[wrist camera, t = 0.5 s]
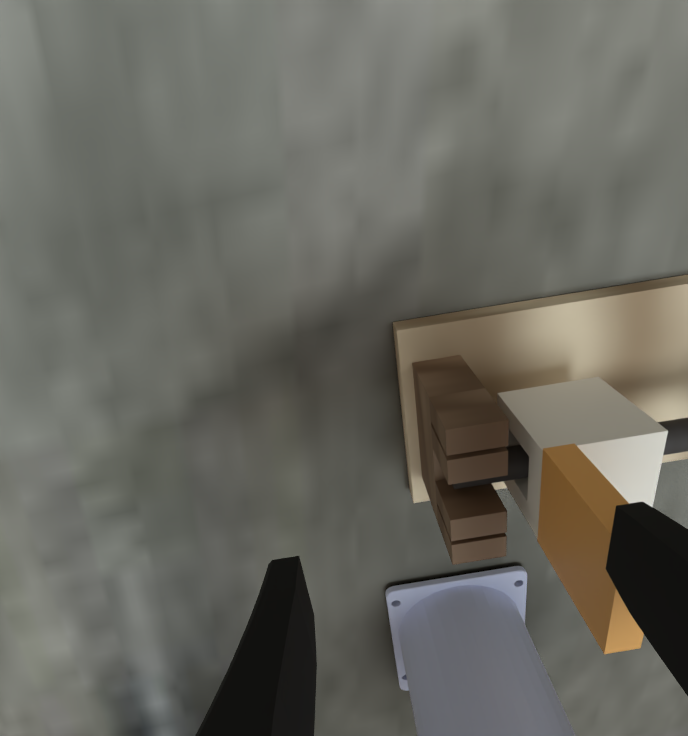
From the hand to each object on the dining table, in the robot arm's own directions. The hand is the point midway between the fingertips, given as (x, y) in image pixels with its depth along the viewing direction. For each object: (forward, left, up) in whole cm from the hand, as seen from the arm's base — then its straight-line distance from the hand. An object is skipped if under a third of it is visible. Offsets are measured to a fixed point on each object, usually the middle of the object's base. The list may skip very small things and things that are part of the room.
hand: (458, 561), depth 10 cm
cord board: (-2, -9, -10) cm, 14 cm away
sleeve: (-2, -6, -8) cm, 10 cm away
